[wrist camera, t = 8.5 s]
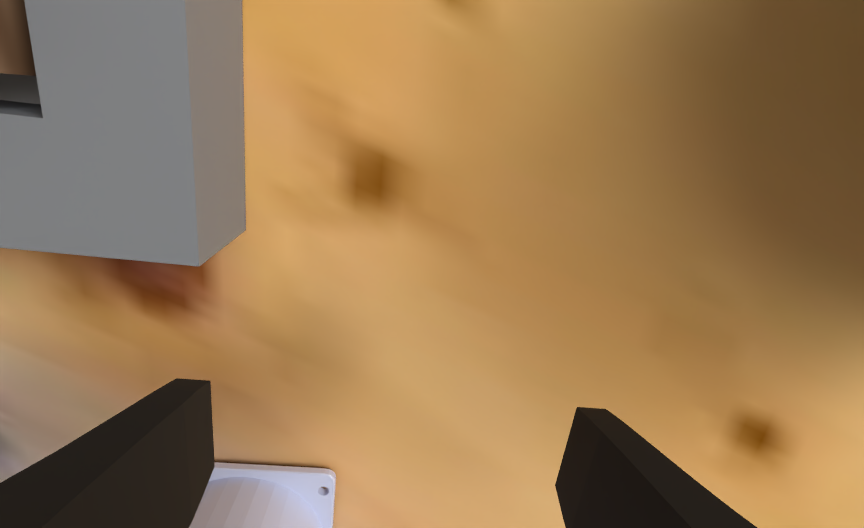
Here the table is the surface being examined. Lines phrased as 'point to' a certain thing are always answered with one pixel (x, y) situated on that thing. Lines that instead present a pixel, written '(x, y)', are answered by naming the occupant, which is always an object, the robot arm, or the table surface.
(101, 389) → the table surface
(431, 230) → the table surface
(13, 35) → the peg
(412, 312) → the table surface
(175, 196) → the socket block
